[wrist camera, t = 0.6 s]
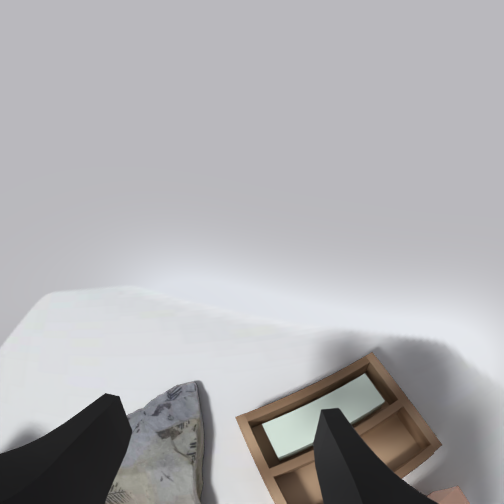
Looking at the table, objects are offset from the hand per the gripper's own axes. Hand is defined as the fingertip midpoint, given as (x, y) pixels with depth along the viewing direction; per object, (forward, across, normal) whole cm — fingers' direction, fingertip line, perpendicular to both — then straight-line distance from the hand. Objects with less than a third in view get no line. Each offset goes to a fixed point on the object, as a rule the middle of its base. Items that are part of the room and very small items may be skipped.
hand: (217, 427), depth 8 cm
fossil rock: (+8, +11, +17) cm, 22 cm away
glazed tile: (+10, -7, +12) cm, 17 cm away
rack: (+8, -8, +13) cm, 18 cm away
